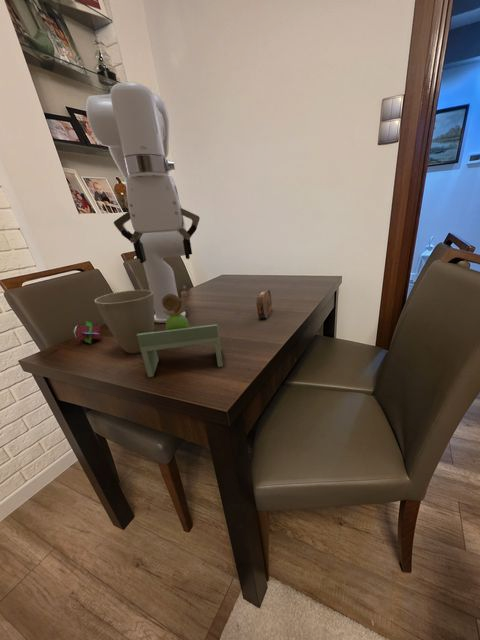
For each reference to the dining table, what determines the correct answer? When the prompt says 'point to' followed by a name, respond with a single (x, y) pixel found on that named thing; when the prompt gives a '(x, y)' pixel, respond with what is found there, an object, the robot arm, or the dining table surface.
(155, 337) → the shelf
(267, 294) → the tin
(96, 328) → the geometric puzzle
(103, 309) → the plant pot
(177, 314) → the snail figurine
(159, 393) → the dining table surface
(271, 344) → the dining table surface
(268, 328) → the dining table surface
